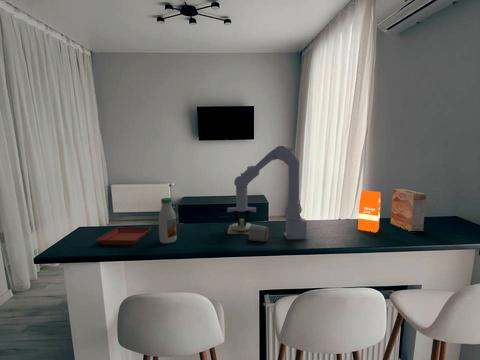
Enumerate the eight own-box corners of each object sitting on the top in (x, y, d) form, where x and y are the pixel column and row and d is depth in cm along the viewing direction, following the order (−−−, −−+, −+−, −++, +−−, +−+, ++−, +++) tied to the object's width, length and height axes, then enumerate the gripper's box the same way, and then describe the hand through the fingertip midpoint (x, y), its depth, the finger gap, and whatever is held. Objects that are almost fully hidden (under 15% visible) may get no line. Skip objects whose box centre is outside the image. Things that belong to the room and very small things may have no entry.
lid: (253, 223, 136) (253, 216, 135) (253, 230, 124) (253, 223, 124) (231, 223, 136) (231, 216, 136) (230, 230, 125) (229, 223, 124)
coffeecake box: (389, 223, 141) (392, 188, 139) (401, 222, 142) (404, 188, 140) (410, 232, 127) (413, 194, 124) (423, 231, 127) (427, 193, 125)
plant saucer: (117, 232, 130) (117, 226, 130) (152, 233, 129) (151, 227, 128) (96, 246, 112) (95, 239, 112) (135, 247, 111) (135, 240, 111)
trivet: (255, 226, 137) (255, 224, 137) (255, 235, 123) (256, 233, 123) (229, 226, 138) (229, 224, 137) (227, 235, 124) (227, 233, 124)
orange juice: (360, 225, 138) (362, 189, 135) (378, 228, 133) (381, 191, 130) (357, 229, 132) (359, 191, 129) (376, 232, 126) (379, 193, 124)
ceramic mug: (266, 244, 112) (266, 228, 111) (248, 243, 114) (248, 226, 113) (269, 237, 122) (270, 221, 121) (253, 235, 124) (253, 220, 123)
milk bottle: (161, 245, 113) (159, 201, 110) (158, 239, 119) (156, 197, 117) (178, 241, 116) (176, 199, 113) (174, 236, 123) (172, 196, 120)
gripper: (255, 197, 132) (256, 222, 134) (228, 197, 132) (228, 222, 134) (256, 200, 125) (256, 227, 127) (227, 200, 125) (227, 227, 127)
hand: (242, 225), depth 130 cm, fingers closed on lid, 3 cm apart
